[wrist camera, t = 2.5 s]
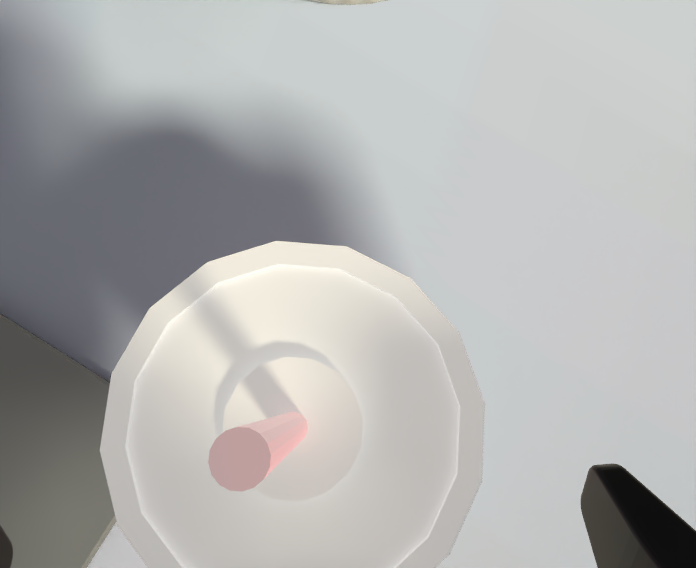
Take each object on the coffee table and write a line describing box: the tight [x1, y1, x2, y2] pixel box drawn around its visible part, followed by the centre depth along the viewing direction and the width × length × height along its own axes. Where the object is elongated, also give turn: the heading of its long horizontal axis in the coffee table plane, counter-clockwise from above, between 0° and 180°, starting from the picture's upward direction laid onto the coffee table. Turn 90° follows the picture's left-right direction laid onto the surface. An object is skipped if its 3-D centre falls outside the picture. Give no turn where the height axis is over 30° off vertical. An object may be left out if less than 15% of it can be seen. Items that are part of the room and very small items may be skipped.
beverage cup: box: [100, 241, 485, 568], centre depth 11 cm, size 6×6×14 cm
